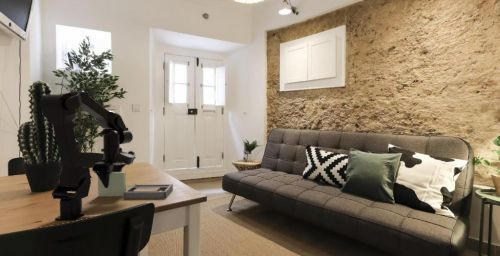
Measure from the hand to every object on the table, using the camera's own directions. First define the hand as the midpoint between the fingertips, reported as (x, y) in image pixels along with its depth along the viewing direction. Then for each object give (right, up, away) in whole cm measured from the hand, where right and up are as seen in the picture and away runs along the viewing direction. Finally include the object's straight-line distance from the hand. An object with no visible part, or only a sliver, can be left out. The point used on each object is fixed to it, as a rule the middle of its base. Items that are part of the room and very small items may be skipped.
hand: (112, 184), depth 106 cm
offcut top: (+13, -3, +1) cm, 14 cm away
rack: (+14, -5, +3) cm, 15 cm away
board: (0, -5, 0) cm, 5 cm away
